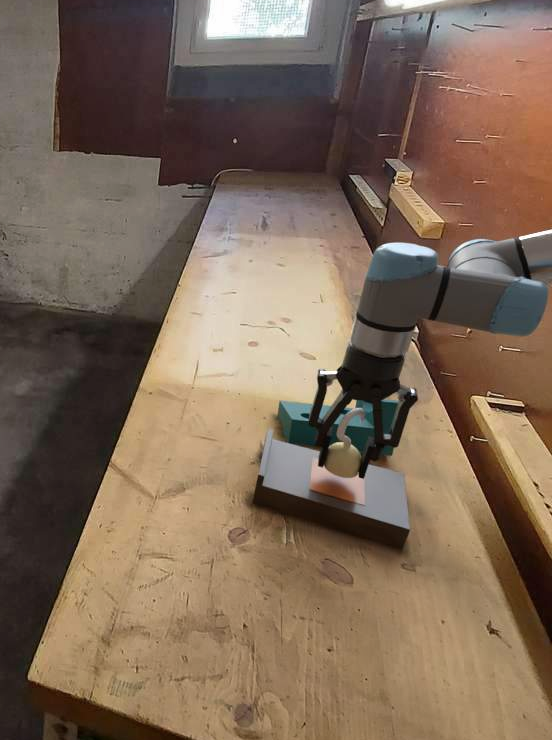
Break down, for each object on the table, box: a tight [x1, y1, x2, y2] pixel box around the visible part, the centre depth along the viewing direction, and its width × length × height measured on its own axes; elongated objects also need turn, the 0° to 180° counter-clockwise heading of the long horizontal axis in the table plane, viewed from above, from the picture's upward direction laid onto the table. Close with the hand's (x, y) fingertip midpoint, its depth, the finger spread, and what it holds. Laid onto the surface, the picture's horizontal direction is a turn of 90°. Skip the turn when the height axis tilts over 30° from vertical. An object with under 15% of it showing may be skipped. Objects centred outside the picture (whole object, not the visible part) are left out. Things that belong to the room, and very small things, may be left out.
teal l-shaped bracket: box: [276, 398, 399, 457], centre depth 111 cm, size 18×11×10 cm, turn 76°
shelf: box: [251, 428, 411, 551], centre depth 96 cm, size 22×14×6 cm, turn 61°
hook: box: [324, 407, 365, 478], centre depth 91 cm, size 6×5×12 cm
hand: (340, 467), depth 94 cm, fingers closed on hook, 5 cm apart
